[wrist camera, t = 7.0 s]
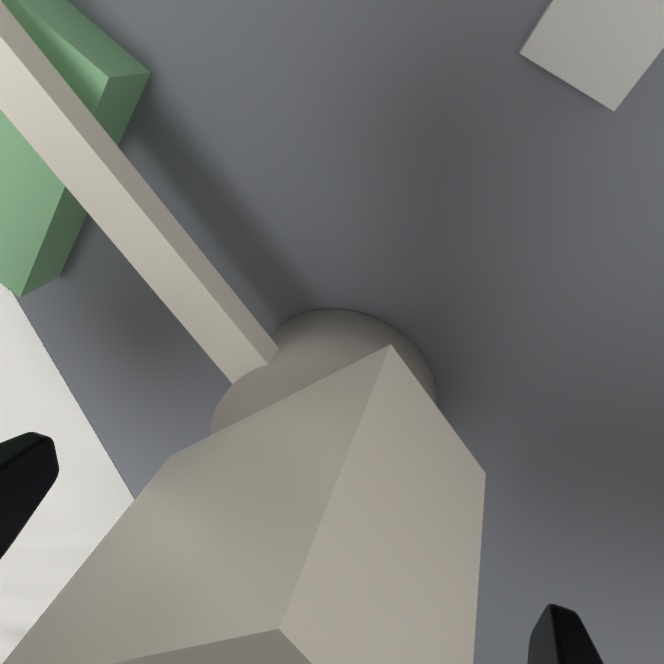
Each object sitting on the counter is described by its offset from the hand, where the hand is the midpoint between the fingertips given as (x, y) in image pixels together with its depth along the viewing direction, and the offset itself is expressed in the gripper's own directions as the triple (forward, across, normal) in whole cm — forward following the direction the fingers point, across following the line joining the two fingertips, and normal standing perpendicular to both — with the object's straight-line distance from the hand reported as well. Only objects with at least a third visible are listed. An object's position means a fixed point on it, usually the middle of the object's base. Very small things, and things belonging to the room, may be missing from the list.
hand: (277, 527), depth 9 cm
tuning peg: (+4, +3, -3) cm, 6 cm away
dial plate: (+6, 0, 0) cm, 6 cm away
